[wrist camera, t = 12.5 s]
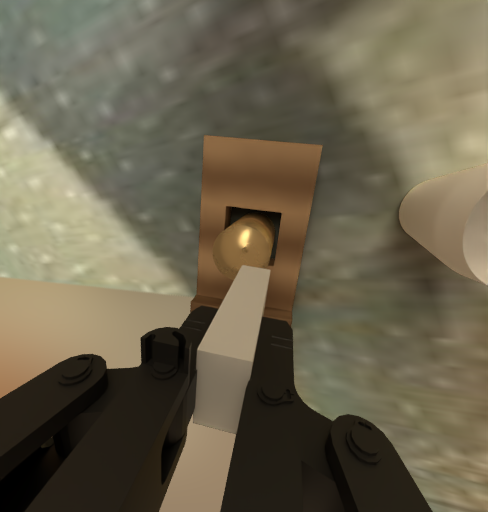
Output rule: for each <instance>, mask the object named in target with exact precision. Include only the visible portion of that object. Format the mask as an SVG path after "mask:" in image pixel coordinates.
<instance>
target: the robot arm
mask: <svg viewBox="0 0 488 512" xmlns="http://www.w3.org/2000/svg"><path fill="white" fill-rule="evenodd" d="M270 271H271V270H269V269H263V268H257V267H251V266H245V265H242V266H241V268H240V270H239V272H238V274H237V276H236V278H235V279H234V281H233V283H232V285H231V287H230V289H229V291H228V293H227V294H226V296H225V298H224V300H223V302H222V304H221V306H220V308H219V309H217V308H212V307H207V306H202V305H201V306H200V307H198V308H196V309H195V310H193V311H192V312H191V313H190V314H189V316H188V317H187V319H186V320H185V321H184V323H183V324H182V326H181V327H180V328H179V329H178V328H171V327H164V328H158V329H155V330H152V331H150V332H148V333H146V334H145V335H144V336H142V337H141V361H142V363H141V365H140V366H139V367H133V368H118V369H107V367H106V361H105V360H104V359H103V358H102V357H101V356H98V355H94V354H82V355H78V356H74V357H70V358H68V359H66V360H64V361H62V362H60V363H58V364H56V365H55V366H53V367H52V368H50V369H48V370H47V371H45V372H43V373H42V374H40V375H38V376H37V377H35V378H33V379H32V380H30V381H28V382H27V383H25V384H23V385H22V386H20V387H18V388H17V389H15V390H13V391H12V392H10V393H8V394H7V395H5V396H4V397H2V398H0V512H159V510H160V507H161V504H162V502H163V499H164V497H165V494H166V492H167V489H168V486H169V484H170V481H171V479H172V476H173V473H174V471H175V468H176V466H177V463H178V461H179V458H180V455H181V453H182V450H183V448H184V445H185V442H186V436H187V426H188V424H189V421H190V419H191V416H192V414H193V423H196V424H199V425H203V426H207V427H211V428H215V429H218V430H222V431H226V432H229V433H234V434H236V438H235V443H234V448H233V453H232V458H231V462H230V467H229V472H228V477H227V482H226V487H225V492H224V496H223V501H222V506H221V511H220V512H432V510H431V508H430V507H429V505H428V503H427V502H426V500H425V498H424V497H423V495H422V493H421V492H420V490H419V488H418V487H417V485H416V483H415V482H414V480H413V478H412V477H411V475H410V473H409V472H408V470H407V468H406V467H405V465H404V463H403V462H402V460H401V458H400V457H399V455H398V453H397V452H396V450H395V448H394V447H393V445H392V444H391V442H390V441H389V440H388V438H387V437H386V436H385V434H384V433H383V432H382V431H381V430H379V429H378V428H377V427H376V426H375V425H374V424H372V423H371V422H369V421H367V420H365V419H363V418H361V417H359V416H354V415H349V414H347V415H342V416H339V417H337V418H336V419H335V420H334V421H332V420H330V419H328V418H326V417H324V416H323V415H321V414H319V413H317V412H316V411H314V410H313V409H311V408H310V407H308V406H307V405H306V404H305V403H304V402H303V401H302V399H301V398H300V397H299V395H298V394H297V391H296V389H295V385H294V368H293V330H292V329H291V327H290V325H289V324H288V322H287V321H283V320H278V319H273V318H268V317H263V315H264V308H265V302H266V296H267V290H268V284H269V277H270ZM52 436H53V437H52Z"/></svg>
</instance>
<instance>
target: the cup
mask: <svg viewBox="0 0 488 512" xmlns="http://www.w3.org/2000/svg"><path fill="white" fill-rule="evenodd" d="M399 221H400V224H401V226H402V228H403V229H404V231H405V232H406V233H407V234H408V235H410V236H411V237H412V238H413V239H415V240H416V241H417V242H418V243H419V244H421V245H422V246H423V247H424V248H425V249H427V250H428V251H429V252H430V253H432V254H433V255H434V256H435V257H436V258H438V259H439V260H440V261H441V262H443V263H444V264H445V265H446V266H448V267H449V268H450V269H452V270H453V271H455V272H457V273H458V274H460V275H462V276H465V277H467V278H470V279H473V280H475V281H477V282H480V283H482V284H485V285H487V286H488V163H486V164H482V165H479V166H475V167H472V168H468V169H465V170H461V171H458V172H454V173H451V174H447V175H443V176H440V177H436V178H433V179H429V180H426V181H424V182H422V183H420V184H418V185H416V186H415V187H414V188H412V189H411V190H410V191H409V192H408V193H407V195H406V196H405V197H404V199H403V201H402V203H401V205H400V209H399Z"/></svg>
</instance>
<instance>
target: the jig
mask: <svg viewBox="0 0 488 512" xmlns="http://www.w3.org/2000/svg"><path fill="white" fill-rule="evenodd" d="M322 146H323V145H313V144H301V143H289V142H278V141H266V140H254V139H242V138H231V137H219V136H207V135H204V150H203V172H202V193H201V215H200V236H199V257H198V279H197V295H196V296H195V297H194V299H193V300H192V301H191V310H190V312H192V311H193V310H195V309H196V308H198V307H200V306H201V305H202V306H207V307H212V308H217V309H219V308H220V306H221V304H222V302H223V300H224V298H225V296H226V294H227V293H228V291H229V289H230V287H231V285H232V283H233V281H234V280H232V279H230V278H228V277H226V276H225V275H223V274H222V273H221V272H220V271H219V269H218V268H217V266H216V265H215V262H214V259H213V245H214V242H215V240H216V238H217V237H218V235H219V234H220V233H221V232H222V231H224V230H225V229H226V228H228V227H229V226H230V220H231V208H232V207H239V208H247V209H256V210H264V211H272V212H280V213H282V216H281V223H280V230H279V236H278V243H277V250H276V256H275V259H272V258H270V260H269V264H268V266H267V268H266V269H269V270H271V271H270V277H269V284H268V290H267V296H266V302H265V308H264V315H263V317H268V318H273V319H278V320H283V321H287V322H288V324H289V325H290V327H291V324H292V307H293V302H294V297H295V291H296V286H297V280H298V275H299V270H300V264H301V259H302V253H303V248H304V243H305V237H306V232H307V227H308V221H309V216H310V210H311V205H312V200H313V194H314V189H315V183H316V178H317V173H318V167H319V162H320V157H321V151H322Z"/></svg>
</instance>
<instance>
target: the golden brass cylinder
mask: <svg viewBox="0 0 488 512" xmlns="http://www.w3.org/2000/svg"><path fill="white" fill-rule="evenodd" d="M274 238H275V226H274V224H273V222H272V220H271V219H270V218H269V217H268V216H266V215H265V214H263V213H259V212H251V213H248V214H246V215H244V216H243V217H241V218H240V219H239V220H237V221H236V222H235V223H233V224H232V225H230V226H229V227H228V228H226V229H225V230H224V231H222V232H221V233H220V234H219V235H218V237H217V238H216V240H215V242H214V245H213V259H214V262H215V265H216V266H217V268H218V269H219V271H220V272H221V273H222V274H223V275H225V276H226V277H228V278H230V279H232V280H234V279H235V278H236V276H237V274H238V272H239V270H240V268H241V266H242V265H245V266H251V267H257V268H263V269H266V268H267V266H268V264H269V260H270V256H271V251H272V247H273V243H274Z"/></svg>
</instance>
